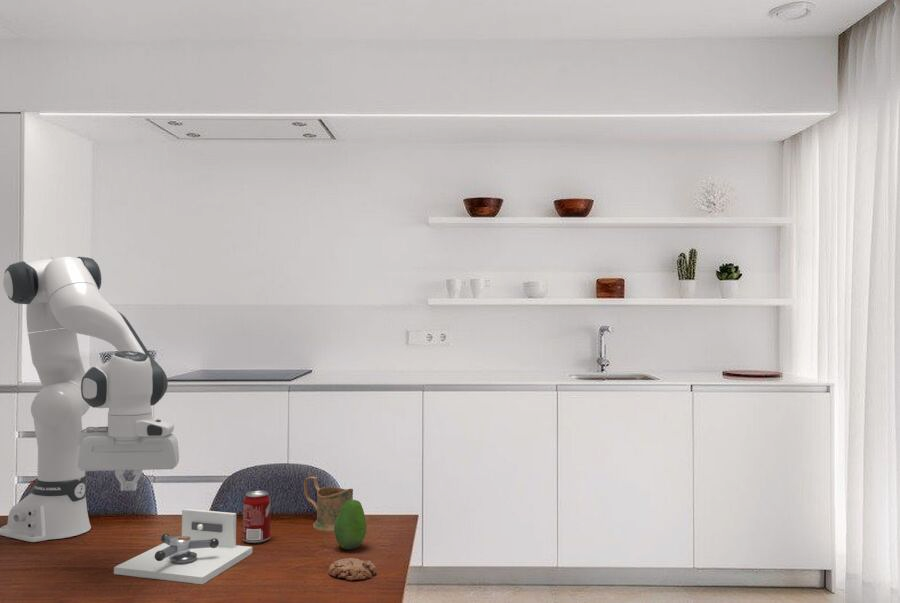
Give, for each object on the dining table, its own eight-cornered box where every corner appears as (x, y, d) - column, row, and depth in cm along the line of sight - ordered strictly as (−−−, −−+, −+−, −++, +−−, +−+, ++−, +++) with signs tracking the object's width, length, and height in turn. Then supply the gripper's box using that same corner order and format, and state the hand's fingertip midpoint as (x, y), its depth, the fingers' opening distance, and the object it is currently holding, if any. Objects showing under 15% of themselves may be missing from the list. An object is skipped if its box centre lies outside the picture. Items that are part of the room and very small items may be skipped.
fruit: (326, 548, 180) (327, 499, 180) (351, 541, 186) (352, 494, 186) (347, 556, 175) (348, 505, 175) (372, 548, 181) (373, 499, 181)
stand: (113, 574, 161) (114, 530, 161) (172, 544, 181) (173, 506, 181) (202, 584, 155) (203, 539, 156) (252, 553, 176) (253, 513, 176)
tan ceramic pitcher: (319, 513, 211) (320, 472, 211) (364, 524, 201) (365, 480, 201) (289, 522, 202) (289, 479, 202) (334, 534, 191) (335, 488, 192)
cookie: (330, 567, 168) (330, 554, 168) (376, 566, 168) (376, 553, 169) (326, 583, 158) (326, 569, 158) (375, 582, 159) (375, 568, 159)
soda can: (262, 545, 181) (263, 497, 182) (237, 543, 183) (238, 495, 183) (274, 537, 188) (275, 490, 188) (250, 535, 189) (250, 489, 190)
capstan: (126, 568, 160) (127, 545, 160) (164, 549, 172) (164, 528, 172) (186, 574, 156) (187, 551, 156) (220, 555, 169) (220, 533, 169)
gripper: (73, 429, 154) (72, 495, 154) (175, 428, 157) (173, 492, 157) (84, 424, 160) (82, 487, 160) (181, 423, 163) (180, 485, 163)
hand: (128, 490), depth 158 cm, fingers closed
